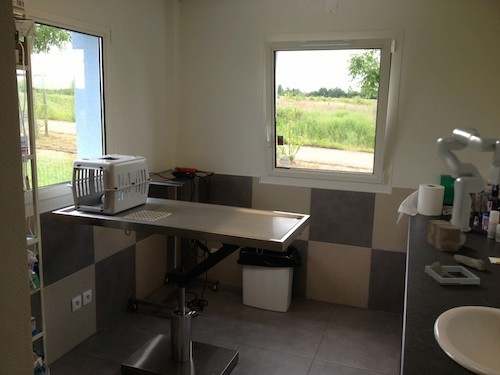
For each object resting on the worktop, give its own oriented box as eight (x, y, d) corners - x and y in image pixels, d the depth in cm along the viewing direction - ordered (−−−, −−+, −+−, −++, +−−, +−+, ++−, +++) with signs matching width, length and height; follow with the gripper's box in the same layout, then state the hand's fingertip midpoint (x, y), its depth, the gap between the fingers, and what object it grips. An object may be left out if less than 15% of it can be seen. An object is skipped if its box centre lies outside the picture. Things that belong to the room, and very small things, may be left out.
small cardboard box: (426, 240, 249) (428, 220, 246) (449, 240, 250) (452, 220, 248) (441, 251, 232) (443, 229, 230) (466, 251, 233) (469, 229, 231)
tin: (463, 245, 242) (466, 230, 241) (466, 247, 239) (468, 232, 238) (435, 244, 242) (437, 229, 241) (438, 246, 239) (439, 231, 237)
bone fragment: (487, 269, 208) (488, 259, 208) (479, 272, 205) (480, 262, 204) (459, 260, 219) (460, 251, 219) (451, 262, 216) (452, 253, 215)
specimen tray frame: (424, 272, 202) (425, 265, 201) (460, 272, 203) (461, 266, 202) (440, 285, 187) (441, 278, 187) (479, 285, 189) (480, 278, 188)
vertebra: (456, 285, 188) (444, 263, 188) (437, 291, 191) (426, 270, 192) (457, 275, 198) (446, 254, 198) (439, 281, 202) (428, 260, 202)
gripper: (485, 160, 251) (480, 193, 256) (501, 165, 237) (495, 200, 241) (499, 161, 252) (493, 193, 256) (515, 166, 237) (509, 200, 241)
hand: (494, 196), depth 248 cm, fingers closed
